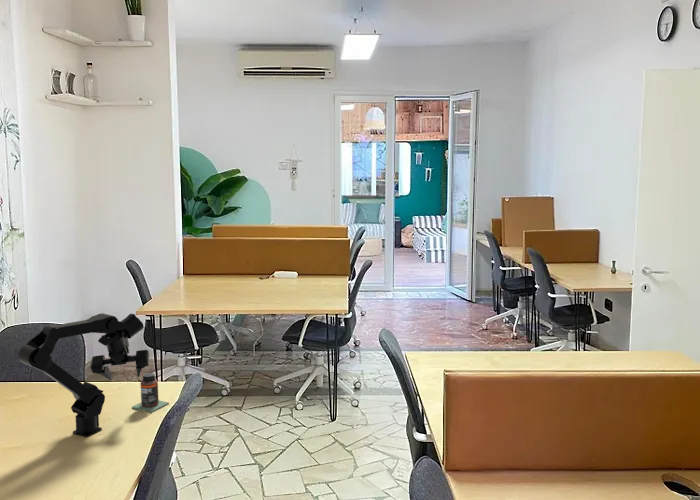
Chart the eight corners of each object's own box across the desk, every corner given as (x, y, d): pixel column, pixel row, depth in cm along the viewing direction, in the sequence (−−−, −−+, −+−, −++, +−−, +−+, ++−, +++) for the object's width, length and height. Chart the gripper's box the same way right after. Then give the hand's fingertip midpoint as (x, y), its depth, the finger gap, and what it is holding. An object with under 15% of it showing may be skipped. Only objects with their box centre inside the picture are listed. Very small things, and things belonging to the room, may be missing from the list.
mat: (151, 412, 224) (151, 411, 224) (132, 408, 227) (131, 406, 227) (168, 404, 232) (168, 402, 232) (149, 399, 236) (149, 398, 235)
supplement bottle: (152, 400, 233) (151, 370, 232) (162, 404, 230) (161, 374, 228) (137, 405, 229) (136, 374, 227) (147, 409, 225) (146, 378, 224)
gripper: (146, 326, 222) (153, 357, 231) (90, 332, 219) (100, 364, 228) (144, 348, 213) (152, 380, 222) (85, 356, 210) (96, 388, 219)
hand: (125, 377), depth 223 cm, fingers open, 9 cm apart
